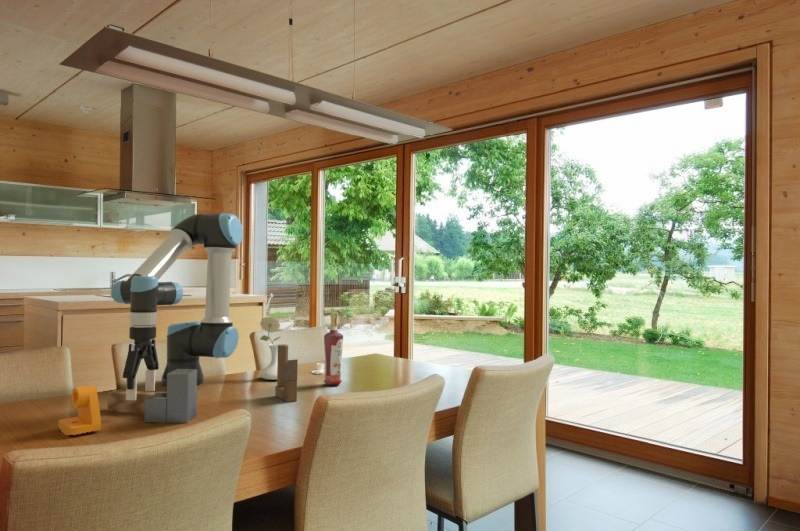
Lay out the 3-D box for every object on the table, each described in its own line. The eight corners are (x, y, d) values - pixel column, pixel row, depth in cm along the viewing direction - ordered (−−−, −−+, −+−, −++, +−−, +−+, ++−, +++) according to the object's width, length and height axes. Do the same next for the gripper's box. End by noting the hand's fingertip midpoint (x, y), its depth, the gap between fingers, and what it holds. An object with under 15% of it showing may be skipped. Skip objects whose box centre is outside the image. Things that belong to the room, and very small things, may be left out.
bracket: (56, 430, 155) (57, 386, 155) (85, 424, 161) (86, 382, 161) (71, 438, 148) (72, 392, 148) (101, 432, 154) (101, 388, 154)
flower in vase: (294, 377, 231) (295, 316, 231) (276, 383, 221) (278, 318, 221) (268, 374, 237) (269, 314, 237) (249, 379, 226) (251, 316, 226)
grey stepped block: (156, 414, 172) (157, 368, 172) (196, 415, 173) (197, 369, 173) (144, 422, 164) (145, 374, 164) (186, 423, 164) (187, 374, 164)
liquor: (334, 387, 214) (335, 313, 214) (319, 385, 218) (320, 312, 218) (346, 384, 221) (347, 312, 221) (331, 382, 225) (332, 310, 224)
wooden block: (287, 402, 191) (288, 348, 191) (274, 396, 199) (275, 344, 199) (297, 401, 193) (298, 348, 193) (284, 394, 202) (285, 344, 202)
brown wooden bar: (107, 412, 175) (107, 392, 175) (114, 409, 179) (114, 390, 179) (169, 415, 173) (169, 395, 173) (175, 412, 177) (175, 392, 177)
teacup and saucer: (320, 376, 238) (320, 366, 238) (305, 373, 242) (306, 364, 242) (333, 372, 245) (333, 363, 245) (319, 370, 250) (319, 361, 250)
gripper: (147, 322, 188) (145, 386, 188) (111, 329, 163) (109, 404, 163) (170, 322, 188) (168, 387, 188) (138, 330, 163) (135, 404, 163)
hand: (140, 395), depth 175 cm, fingers open, 13 cm apart
